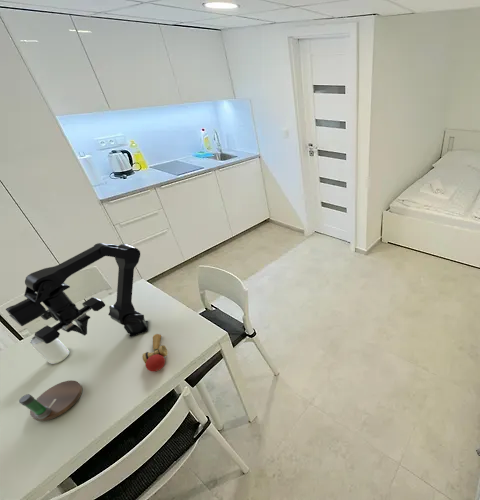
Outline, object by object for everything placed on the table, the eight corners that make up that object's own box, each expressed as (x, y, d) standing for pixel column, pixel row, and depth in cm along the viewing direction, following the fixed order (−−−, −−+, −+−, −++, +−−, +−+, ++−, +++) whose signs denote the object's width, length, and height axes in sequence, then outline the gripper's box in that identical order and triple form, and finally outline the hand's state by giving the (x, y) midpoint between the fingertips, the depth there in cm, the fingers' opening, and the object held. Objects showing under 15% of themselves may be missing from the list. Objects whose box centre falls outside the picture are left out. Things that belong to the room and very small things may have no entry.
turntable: (51, 385, 102) (30, 366, 95) (90, 380, 103) (72, 361, 96) (21, 424, 91) (-4, 406, 84) (66, 418, 92) (44, 400, 86)
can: (57, 365, 109) (37, 346, 102) (44, 362, 110) (23, 343, 103) (74, 351, 114) (56, 331, 107) (61, 348, 115) (42, 329, 108)
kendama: (146, 346, 117) (143, 378, 103) (143, 334, 115) (139, 365, 100) (168, 341, 121) (168, 371, 107) (166, 329, 118) (165, 358, 104)
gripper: (75, 281, 106) (97, 310, 115) (11, 317, 91) (42, 347, 100) (94, 288, 102) (115, 318, 111) (31, 327, 88) (61, 357, 97)
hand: (85, 334), depth 105 cm, fingers closed
